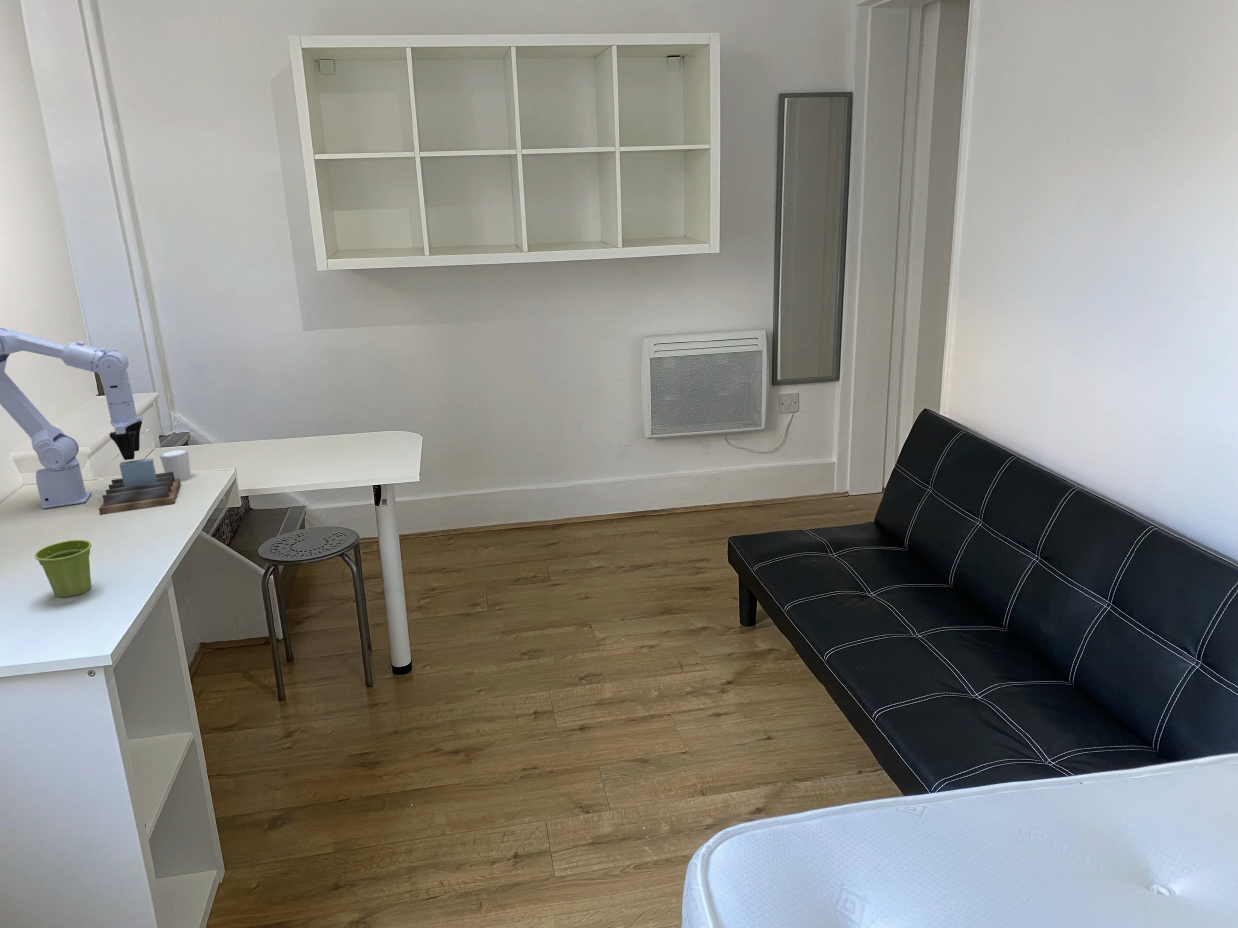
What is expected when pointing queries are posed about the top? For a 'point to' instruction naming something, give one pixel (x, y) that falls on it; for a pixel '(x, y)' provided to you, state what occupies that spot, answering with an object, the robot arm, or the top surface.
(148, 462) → the block
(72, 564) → the plant pot
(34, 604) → the top surface
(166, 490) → the rack
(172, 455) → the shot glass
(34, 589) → the top surface
